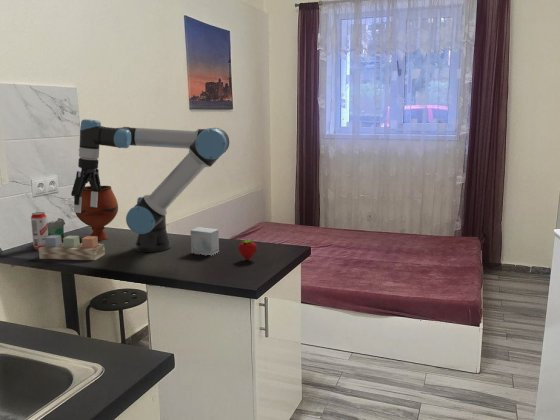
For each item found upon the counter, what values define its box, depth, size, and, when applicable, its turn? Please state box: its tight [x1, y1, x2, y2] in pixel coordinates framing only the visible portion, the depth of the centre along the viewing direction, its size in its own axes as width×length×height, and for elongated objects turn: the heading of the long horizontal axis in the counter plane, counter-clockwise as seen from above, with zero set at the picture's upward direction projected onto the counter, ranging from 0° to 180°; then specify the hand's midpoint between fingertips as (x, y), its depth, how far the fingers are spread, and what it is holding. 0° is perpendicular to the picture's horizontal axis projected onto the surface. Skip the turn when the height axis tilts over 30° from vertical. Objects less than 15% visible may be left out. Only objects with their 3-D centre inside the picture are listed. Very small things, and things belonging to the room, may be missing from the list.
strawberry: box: [238, 239, 258, 261], centre depth 203 cm, size 6×8×10 cm
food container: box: [47, 217, 66, 243], centre depth 233 cm, size 12×6×10 cm, turn 168°
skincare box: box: [190, 226, 220, 257], centre depth 214 cm, size 10×6×10 cm, turn 65°
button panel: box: [38, 242, 106, 261], centre depth 209 cm, size 24×9×4 cm, turn 84°
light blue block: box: [45, 235, 63, 248], centre depth 209 cm, size 5×5×4 cm
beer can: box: [30, 211, 48, 251], centre depth 221 cm, size 6×6×16 cm
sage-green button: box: [62, 235, 81, 248], centre depth 209 cm, size 5×5×4 cm
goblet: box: [74, 185, 119, 241], centre depth 238 cm, size 19×19×25 cm
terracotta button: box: [81, 235, 99, 249], centre depth 208 cm, size 5×5×4 cm
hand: (85, 209), depth 206 cm, fingers open, 13 cm apart
